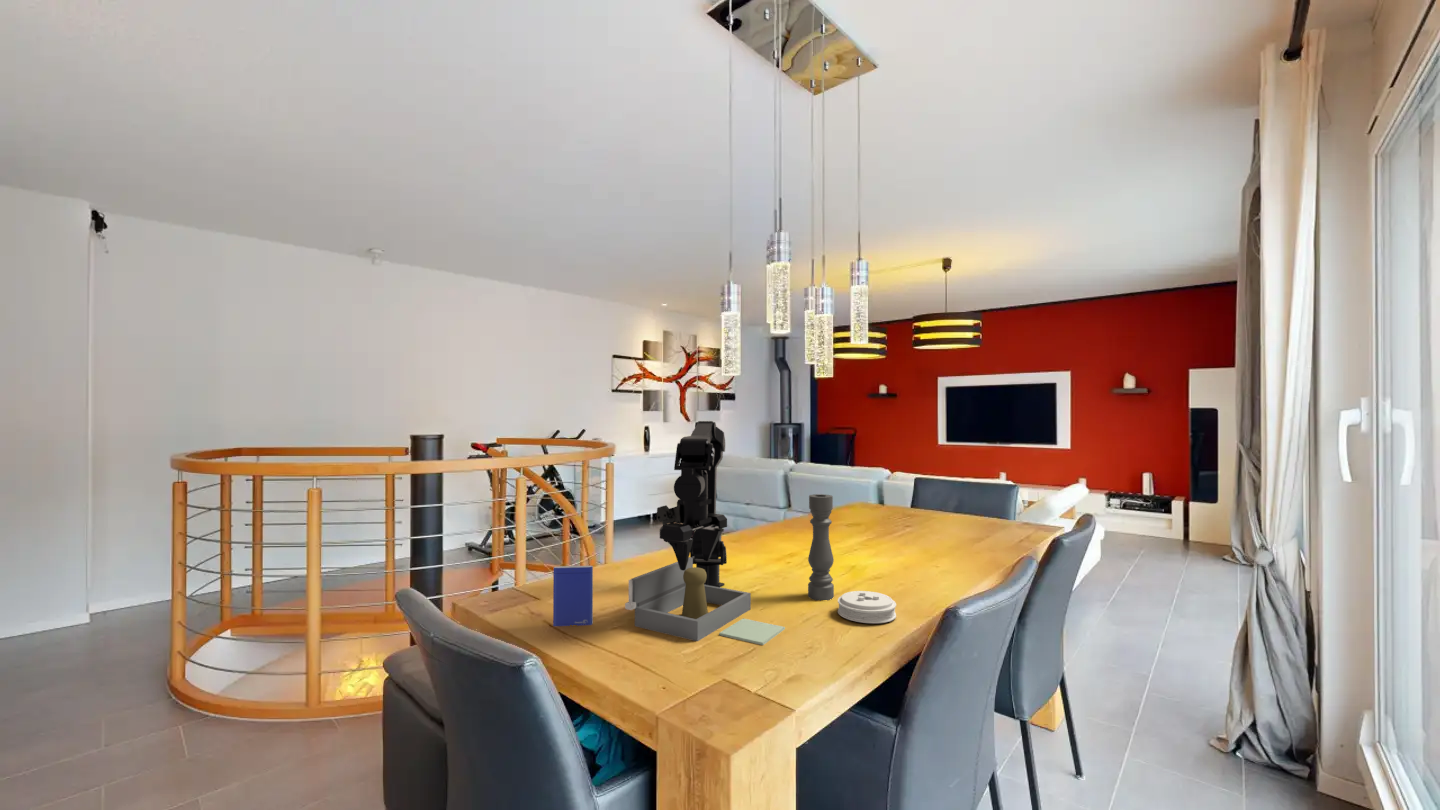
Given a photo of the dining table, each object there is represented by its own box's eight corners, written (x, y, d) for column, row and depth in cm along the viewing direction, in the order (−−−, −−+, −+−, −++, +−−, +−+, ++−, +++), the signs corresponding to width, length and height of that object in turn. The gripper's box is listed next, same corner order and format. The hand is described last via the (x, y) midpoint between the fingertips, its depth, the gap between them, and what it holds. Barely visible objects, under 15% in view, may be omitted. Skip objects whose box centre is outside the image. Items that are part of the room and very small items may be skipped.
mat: (743, 621, 132) (743, 618, 132) (784, 629, 126) (784, 627, 126) (719, 635, 123) (719, 632, 123) (762, 645, 118) (762, 642, 118)
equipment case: (688, 598, 148) (688, 557, 148) (750, 610, 139) (750, 566, 139) (625, 627, 128) (625, 580, 128) (693, 644, 119) (693, 593, 119)
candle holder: (837, 596, 149) (837, 495, 149) (827, 603, 144) (827, 498, 144) (814, 592, 152) (814, 493, 152) (803, 599, 147) (803, 496, 147)
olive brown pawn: (688, 624, 129) (688, 573, 129) (676, 616, 135) (676, 566, 135) (713, 620, 132) (713, 570, 132) (701, 612, 138) (701, 563, 138)
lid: (906, 625, 130) (906, 602, 130) (852, 629, 127) (852, 605, 127) (879, 606, 142) (879, 585, 142) (829, 610, 140) (829, 588, 140)
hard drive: (592, 625, 129) (592, 567, 129) (552, 626, 128) (553, 568, 128) (592, 622, 131) (593, 565, 131) (554, 624, 130) (554, 566, 130)
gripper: (688, 487, 146) (688, 552, 146) (639, 497, 130) (639, 569, 130) (728, 490, 140) (728, 558, 140) (681, 501, 124) (681, 577, 124)
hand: (694, 565), depth 134 cm, fingers open, 9 cm apart
